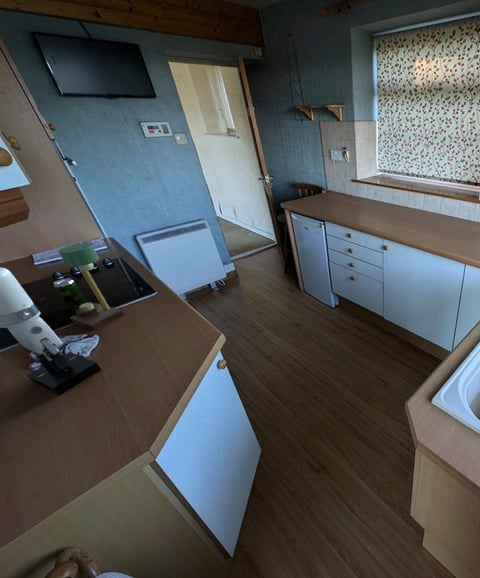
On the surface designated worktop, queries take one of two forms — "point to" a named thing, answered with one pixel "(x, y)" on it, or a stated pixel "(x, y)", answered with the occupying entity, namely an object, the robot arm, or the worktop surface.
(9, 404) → the worktop surface
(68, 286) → the beer can
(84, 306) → the lamp switch
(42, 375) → the dimmer
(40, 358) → the dimmer knob
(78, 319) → the lamp base
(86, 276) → the lamp
